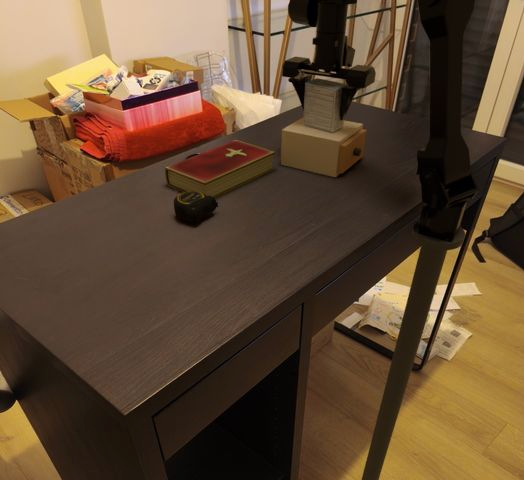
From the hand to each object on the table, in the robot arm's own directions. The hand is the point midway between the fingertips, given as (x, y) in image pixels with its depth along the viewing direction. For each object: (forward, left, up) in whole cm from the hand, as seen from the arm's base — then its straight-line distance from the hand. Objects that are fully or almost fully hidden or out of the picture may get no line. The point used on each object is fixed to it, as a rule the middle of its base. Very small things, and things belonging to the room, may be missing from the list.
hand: (324, 116), depth 103 cm
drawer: (-2, 0, -9) cm, 9 cm away
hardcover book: (+14, +19, -10) cm, 26 cm away
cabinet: (0, 0, -10) cm, 10 cm away
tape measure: (+8, +36, -10) cm, 38 cm away
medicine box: (0, 0, -2) cm, 2 cm away
